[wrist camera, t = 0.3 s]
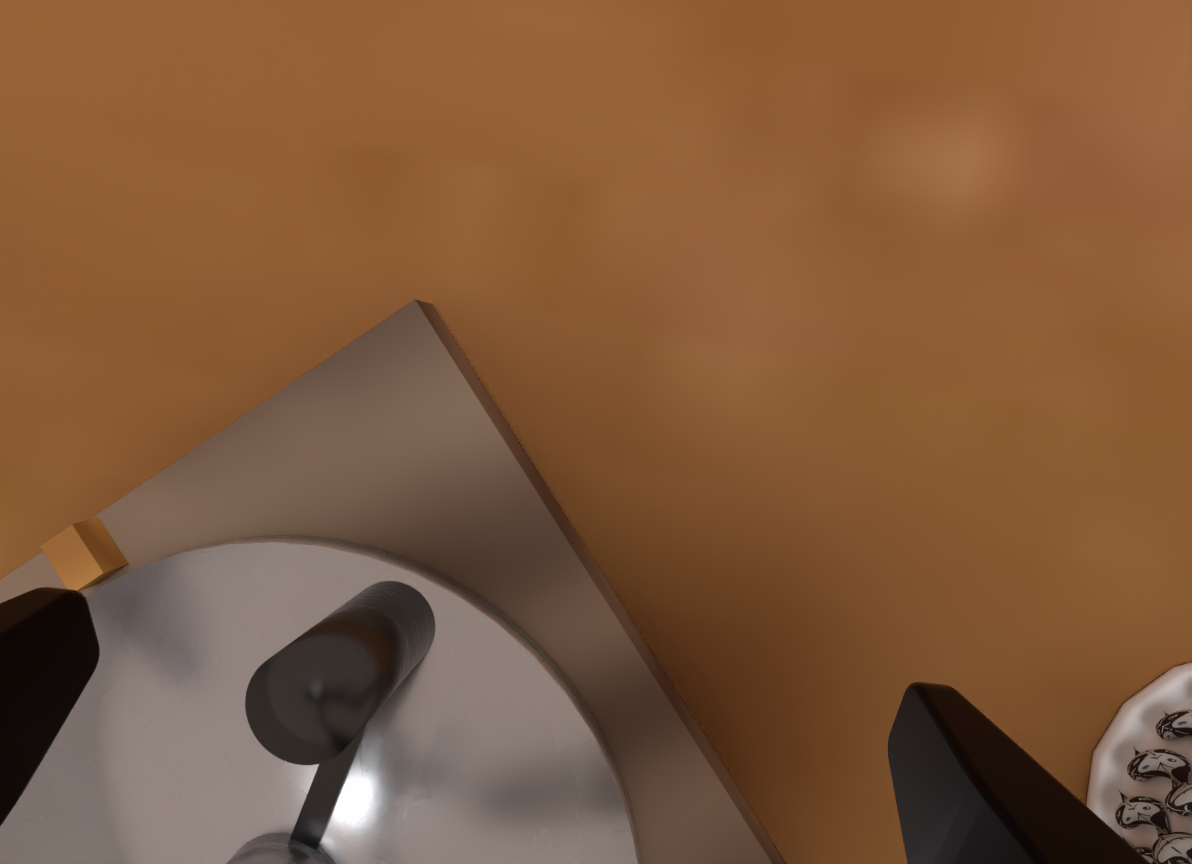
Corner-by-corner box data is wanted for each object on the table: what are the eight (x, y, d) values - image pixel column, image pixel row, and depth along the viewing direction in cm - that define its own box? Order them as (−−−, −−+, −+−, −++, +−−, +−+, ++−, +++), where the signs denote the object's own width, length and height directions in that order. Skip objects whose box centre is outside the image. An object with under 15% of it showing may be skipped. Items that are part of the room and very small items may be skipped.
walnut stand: (863, 986, 22) (888, 1063, 20) (235, 1297, 25) (188, 1397, 23) (431, 304, 22) (401, 295, 19) (-158, 701, 25) (-249, 737, 22)
